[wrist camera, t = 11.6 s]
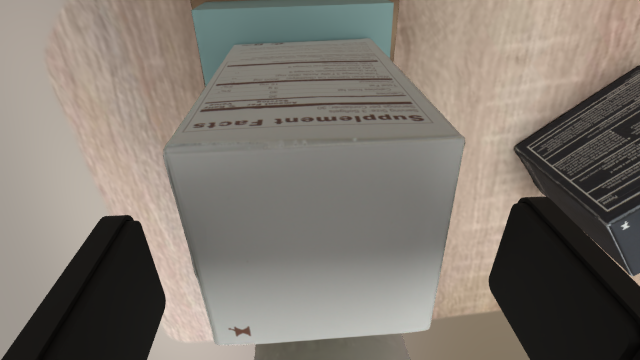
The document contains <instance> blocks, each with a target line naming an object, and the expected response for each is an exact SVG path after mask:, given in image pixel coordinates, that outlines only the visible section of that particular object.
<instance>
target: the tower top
mask: <svg viewBox="0 0 640 360" xmlns="http://www.w3.org/2000/svg"><path fill="white" fill-rule="evenodd" d="M393 7H394V3H393V2H391V1H389V0H250V1H222V2H204V3H203V4H201V5H199V6H198V7H196V8H194V9H192V10H191V11H192V17H193V22H194V27H195V33H196V38H197V43H198V48H199V54H200V59H201V64H202V70H203V75H204V80H205V86H207V84H208V83H209V81H210V80H211V78H212V77H213V75H214V74H215V72H216V71H217V69H218V68H219V67H220V65H221V64H222V62H223V61H224V59H225V58H226V56H227V54H228V53H229V52H230V50H231V49H232V47H233V46H234V45H238V44H259V43H282V42H305V41H327V40H348V39H364V38H370V39H371V40H373V41H374V43H375V44H376V45H377V46H378V47H379V48H380V49H381V50H382V51H383V52H384V53H385V54H386V55H387V56H388V57H389V58H390V49H391V35H392V21H393Z"/></svg>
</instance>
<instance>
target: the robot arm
mask: <svg viewBox="0 0 640 360" xmlns="http://www.w3.org/2000/svg"><path fill="white" fill-rule="evenodd" d="M489 287H490V290H491V292H492V294H493V296H494V297H495V299H496V301H497V303H498V304H499V306H500V308H501V310H502V311H503V313H504V315H505V317H506V318H507V320H508V322H509V324H510V325H511V327H512V329H513V331H514V332H515V334H516V336H517V337H518V339H519V341H520V343H521V344H522V346H523V348H524V350H525V351H526V353H527V355H528V357H529V358H530V360H640V286H639V285H638V284H637V283H636V282H635V281H634V280H633V279H632V278H631V277H630V276H629V275H628V274H627V273H625V272H624V271H623V270H622V269H621V268H620V267H619V266H618V265H617V264H616V263H615V262H614V261H613V260H612V259H611V258H610V257H609V256H608V255H607V254H606V253H605V252H604V251H603V250H602V249H601V248H600V247H599V246H598V245H597V244H596V243H595V242H594V241H593V240H592V239H591V238H590V237H589V236H588V235H587V234H586V233H585V232H584V231H583V230H582V229H581V228H580V227H579V226H578V225H577V224H575V223H574V222H573V221H572V220H571V219H570V218H569V217H568V216H567V215H566V214H565V213H564V212H563V211H562V210H561V209H560V208H559V207H558V206H557V205H556V204H555V203H554V202H553V201H552V200H551V199H550V198H548V197H524V198H521V199H520V200H519V201H518V203H516V204H514V205H513V206H512V208H511V211H510V214H509V217H508V220H507V224H506V227H505V230H504V233H503V236H502V239H501V242H500V245H499V248H498V251H497V254H496V258H495V261H494V264H493V267H492V270H491V273H490V276H489ZM165 302H166V300H165V294H164V291H163V288H162V285H161V282H160V279H159V276H158V273H157V270H156V267H155V264H154V261H153V258H152V255H151V252H150V249H149V246H148V243H147V240H146V237H145V234H144V232H143V229H142V226H141V223H140V222H139V221H134V220H133V218H132V217H131V216H129V215H121V216H105V217H102V218H101V219H100V221H99V222H98V223H97V225H96V226H95V228H94V229H93V230H92V232H91V233H90V235H89V236H88V238H87V239H86V240H85V242H84V243H83V245H82V246H81V247H80V249H79V250H78V252H77V253H76V255H75V256H74V257H73V259H72V260H71V262H70V263H69V264H68V266H67V267H66V269H65V270H64V272H63V273H62V275H61V276H60V277H59V279H58V280H57V281H56V283H55V284H54V286H53V287H52V289H51V290H50V291H49V293H48V294H47V296H46V297H45V299H44V300H43V301H42V303H41V304H40V306H39V307H38V308H37V310H36V311H35V313H34V314H33V316H32V317H31V318H30V320H29V321H28V323H27V324H26V325H25V327H24V328H23V330H22V331H21V332H20V334H19V335H18V337H17V338H16V340H15V341H14V343H13V344H12V345H11V347H10V348H9V349H8V351H7V353H6V354H5V355H4V357H3V358H2V359H1V360H147V358H148V355H149V352H150V349H151V346H152V344H153V341H154V338H155V335H156V332H157V329H158V327H159V324H160V321H161V318H162V315H163V313H164V309H165Z"/></svg>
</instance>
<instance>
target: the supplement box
mask: <svg viewBox="0 0 640 360" xmlns="http://www.w3.org/2000/svg"><path fill="white" fill-rule="evenodd" d="M464 145H465V138H464V137H463V136H462V135H461V134H460V133H459V132H458V131H457V130H456V129H455V128H454V127H453V126H452V125H451V123H450V122H449V121H448V120H447V119H446V118H445V117H444V116H443V115H442V114H441V113H440V111H439V110H438V109H437V108H436V107H435V106H434V105H433V104H432V103H431V102H430V101H429V100H428V99H427V98H426V97H425V96H424V95H423V93H422V92H421V91H420V90H419V89H418V88H417V87H416V86H415V85H414V84H413V83H412V82H411V81H410V80H409V79H408V78H407V77H406V75H405V74H404V73H403V72H402V71H401V70H400V69H399V68H398V67H397V66H396V65H395V64H394V63H393V62H392V61H391V60H390V58H389V57H388V56H387V55H386V54H385V53H384V52H383V51H382V50H381V49H380V48H379V47H378V46H377V45H376V44H375V43H374V41H373V40H371V39H370V38H364V39H348V40H327V41H305V42H282V43H259V44H238V45H234V46H233V47H232V49H231V50H230V52H229V53H228V54H227V56H226V58H225V59H224V61H223V62H222V64H221V65H220V67H219V68H218V69H217V71H216V72H215V74H214V75H213V77H212V78H211V80H210V81H209V83H208V84H207V86H206V87H205V89H204V90H203V92H202V93H201V95H200V96H199V98H198V99H197V101H196V102H195V104H194V105H193V107H192V108H191V110H190V111H189V113H188V114H187V116H186V117H185V118H184V120H183V121H182V123H181V124H180V126H179V127H178V129H177V130H176V132H175V133H174V135H173V136H172V138H171V139H170V140H169V141H168V143H167V144H166V146H165V148H164V155H163V157H164V162H165V166H166V169H167V173H168V177H169V180H170V184H171V188H172V191H173V194H174V197H175V200H176V204H177V208H178V211H179V215H180V219H181V222H182V226H183V229H184V233H185V236H186V240H187V243H188V247H189V251H190V255H191V259H192V264H193V268H194V272H195V275H196V277H197V280H198V283H199V286H200V290H201V294H202V297H203V300H204V304H205V308H206V311H207V315H208V318H209V322H210V326H211V329H212V333H213V338H214V342H215V344H217V345H252V344H269V343H281V342H294V341H307V340H319V339H331V338H345V337H358V336H371V335H386V334H399V333H410V332H417V331H424V330H427V329H429V328H430V324H431V319H432V313H433V308H434V303H435V298H436V293H437V287H438V282H439V277H440V272H441V266H442V261H443V256H444V250H445V245H446V240H447V234H448V229H449V223H450V218H451V213H452V207H453V202H454V197H455V191H456V186H457V181H458V175H459V170H460V165H461V159H462V154H463V149H464Z"/></svg>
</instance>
